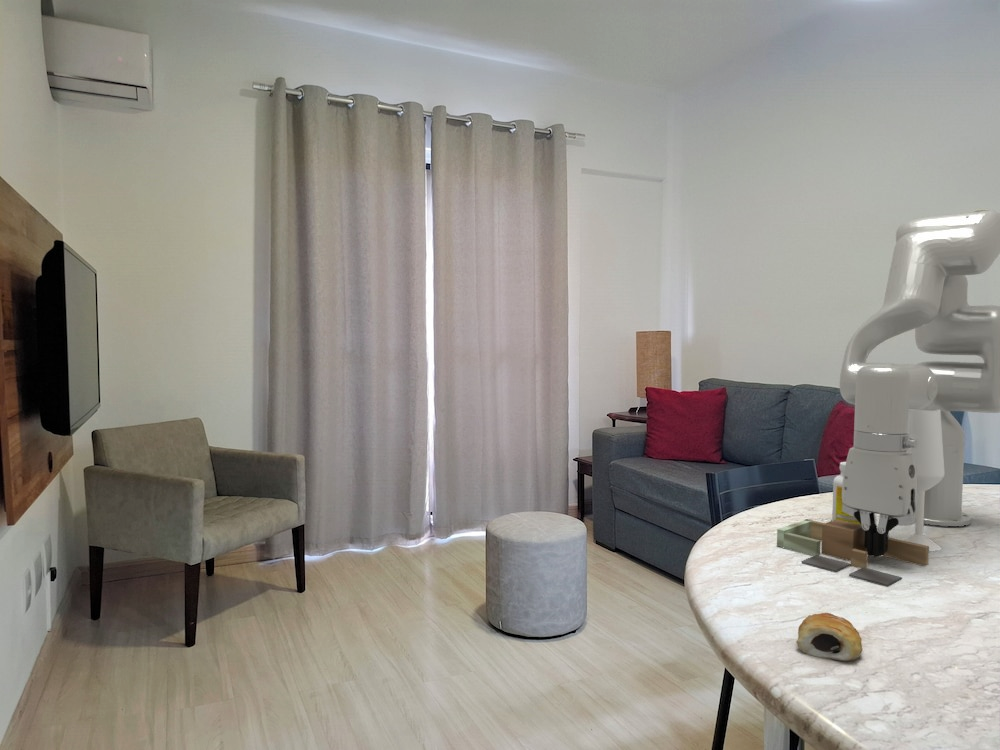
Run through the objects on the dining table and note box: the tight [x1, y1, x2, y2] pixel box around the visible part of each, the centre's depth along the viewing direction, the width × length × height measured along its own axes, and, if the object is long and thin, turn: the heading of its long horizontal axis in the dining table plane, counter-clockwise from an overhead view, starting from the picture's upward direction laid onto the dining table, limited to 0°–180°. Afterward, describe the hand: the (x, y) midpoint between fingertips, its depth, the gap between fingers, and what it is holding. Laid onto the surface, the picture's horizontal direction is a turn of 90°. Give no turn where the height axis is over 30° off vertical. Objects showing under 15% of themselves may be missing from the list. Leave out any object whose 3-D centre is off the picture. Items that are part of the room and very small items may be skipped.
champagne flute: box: [900, 408, 945, 552], centre depth 117 cm, size 7×7×24 cm
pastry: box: [796, 612, 863, 662], centre depth 80 cm, size 9×7×4 cm
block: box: [821, 519, 866, 562], centre depth 113 cm, size 5×5×5 cm
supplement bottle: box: [831, 461, 860, 524], centre depth 126 cm, size 7×7×13 cm
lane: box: [776, 519, 930, 587], centre depth 111 cm, size 15×20×3 cm
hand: (875, 554), depth 109 cm, fingers closed
